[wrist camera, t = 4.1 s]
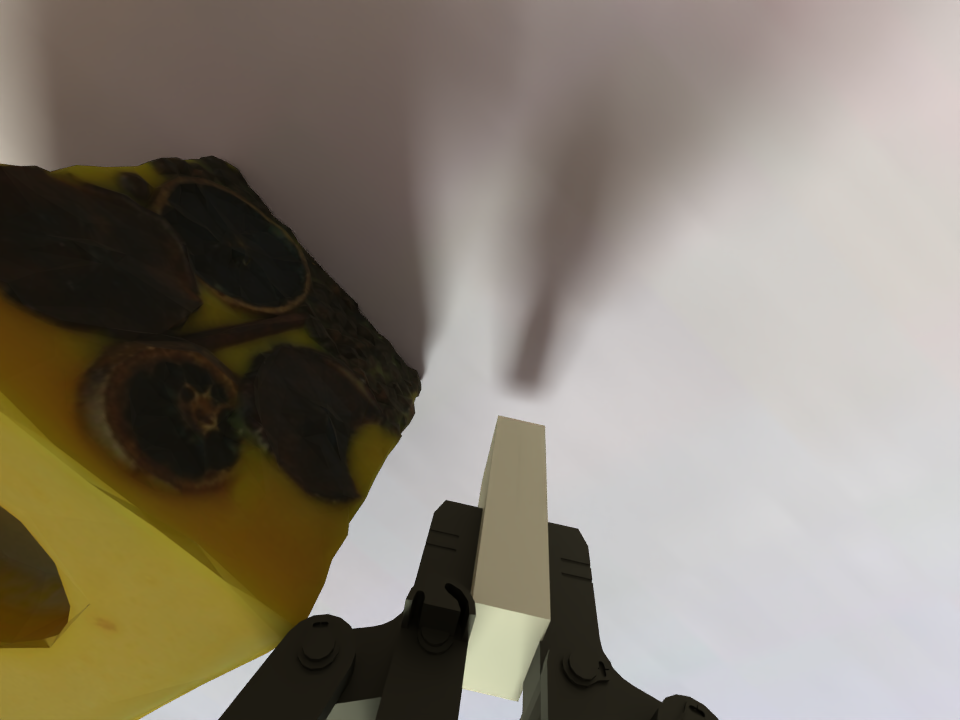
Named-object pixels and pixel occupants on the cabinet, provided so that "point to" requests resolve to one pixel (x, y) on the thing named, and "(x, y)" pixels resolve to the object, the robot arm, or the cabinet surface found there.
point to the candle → (169, 432)
